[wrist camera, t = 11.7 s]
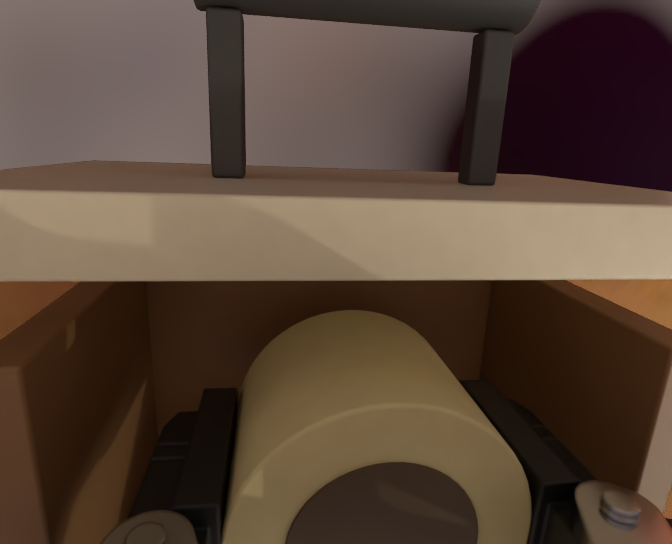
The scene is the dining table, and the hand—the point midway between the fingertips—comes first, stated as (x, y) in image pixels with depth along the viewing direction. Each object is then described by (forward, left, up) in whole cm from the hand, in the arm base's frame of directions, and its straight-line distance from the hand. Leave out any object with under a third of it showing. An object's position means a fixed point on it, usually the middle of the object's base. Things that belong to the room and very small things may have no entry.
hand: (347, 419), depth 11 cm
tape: (0, 0, 0) cm, 0 cm away
